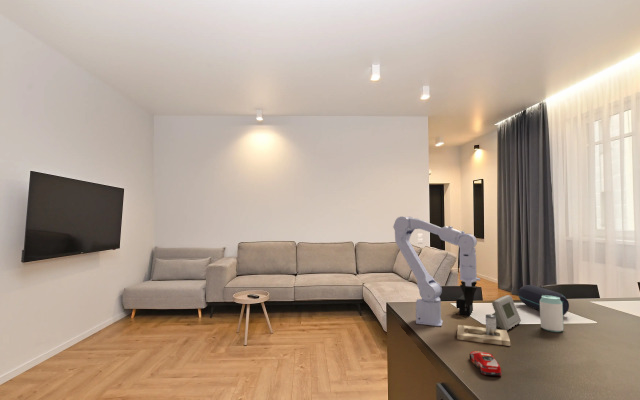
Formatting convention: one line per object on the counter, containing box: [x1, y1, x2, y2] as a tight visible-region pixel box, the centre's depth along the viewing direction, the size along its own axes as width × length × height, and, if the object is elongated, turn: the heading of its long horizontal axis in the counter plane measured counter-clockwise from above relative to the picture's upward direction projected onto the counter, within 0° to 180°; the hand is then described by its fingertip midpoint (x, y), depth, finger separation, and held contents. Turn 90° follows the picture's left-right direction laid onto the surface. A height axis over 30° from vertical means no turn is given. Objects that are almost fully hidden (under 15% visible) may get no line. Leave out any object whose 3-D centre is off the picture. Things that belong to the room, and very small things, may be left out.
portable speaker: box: [517, 284, 570, 316], centre depth 153 cm, size 25×10×10 cm, turn 0°
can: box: [539, 296, 565, 333], centre depth 126 cm, size 7×7×12 cm
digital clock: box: [491, 294, 522, 331], centre depth 131 cm, size 16×9×11 cm, turn 122°
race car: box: [469, 350, 502, 376], centre depth 94 cm, size 13×5×4 cm, turn 171°
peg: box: [485, 313, 497, 336], centre depth 117 cm, size 3×3×8 cm
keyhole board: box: [456, 324, 511, 347], centre depth 118 cm, size 16×12×2 cm
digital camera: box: [455, 294, 474, 317], centre depth 150 cm, size 10×5×7 cm, turn 149°
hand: (469, 302), depth 127 cm, fingers open, 7 cm apart
